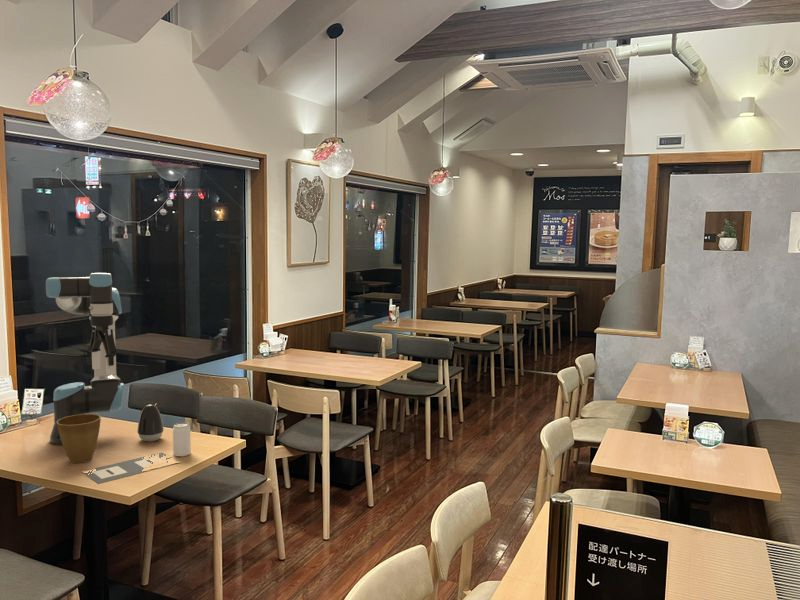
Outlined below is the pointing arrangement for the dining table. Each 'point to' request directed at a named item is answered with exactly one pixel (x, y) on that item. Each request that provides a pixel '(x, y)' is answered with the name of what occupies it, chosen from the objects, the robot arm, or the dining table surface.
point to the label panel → (122, 469)
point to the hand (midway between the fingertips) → (103, 371)
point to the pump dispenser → (150, 423)
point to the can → (181, 439)
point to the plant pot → (79, 436)
